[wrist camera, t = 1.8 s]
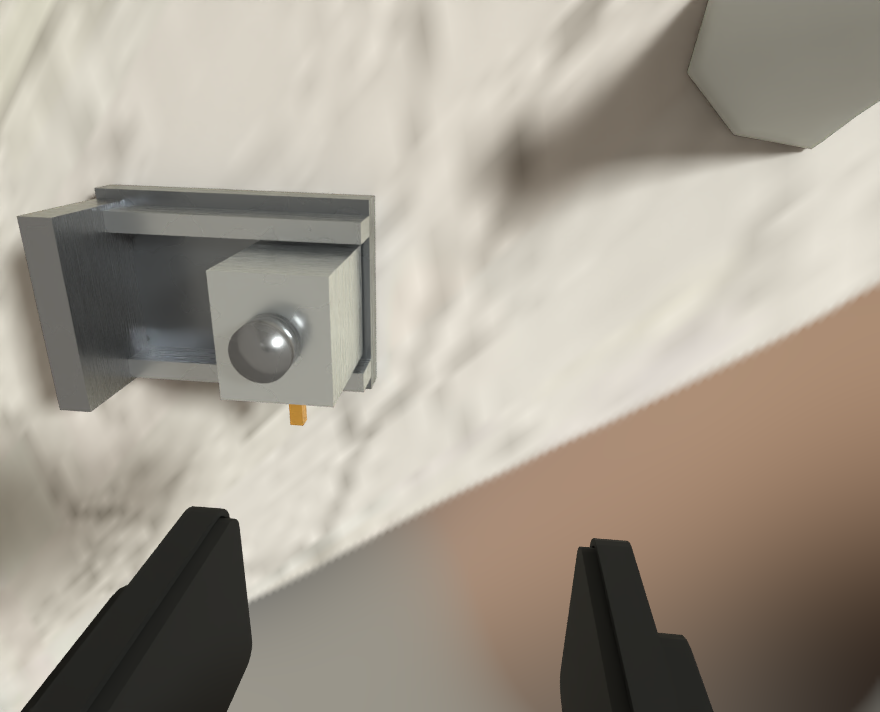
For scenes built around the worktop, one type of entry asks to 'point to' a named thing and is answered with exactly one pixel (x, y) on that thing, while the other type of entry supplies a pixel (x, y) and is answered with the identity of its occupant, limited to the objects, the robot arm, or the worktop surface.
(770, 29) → the flask
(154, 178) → the worktop surface
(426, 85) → the worktop surface
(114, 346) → the base
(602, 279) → the worktop surface
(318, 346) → the knobbed grey cube
